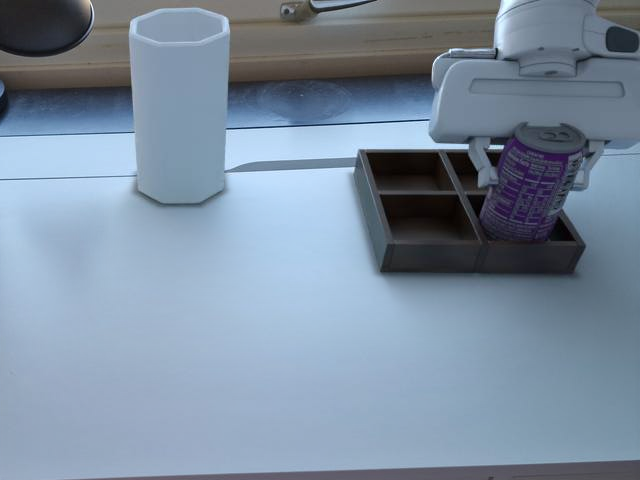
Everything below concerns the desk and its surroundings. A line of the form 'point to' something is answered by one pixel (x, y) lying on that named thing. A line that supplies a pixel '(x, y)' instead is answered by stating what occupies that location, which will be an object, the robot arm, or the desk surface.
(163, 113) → the cup
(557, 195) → the beverage can
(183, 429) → the desk surface
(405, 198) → the grid
